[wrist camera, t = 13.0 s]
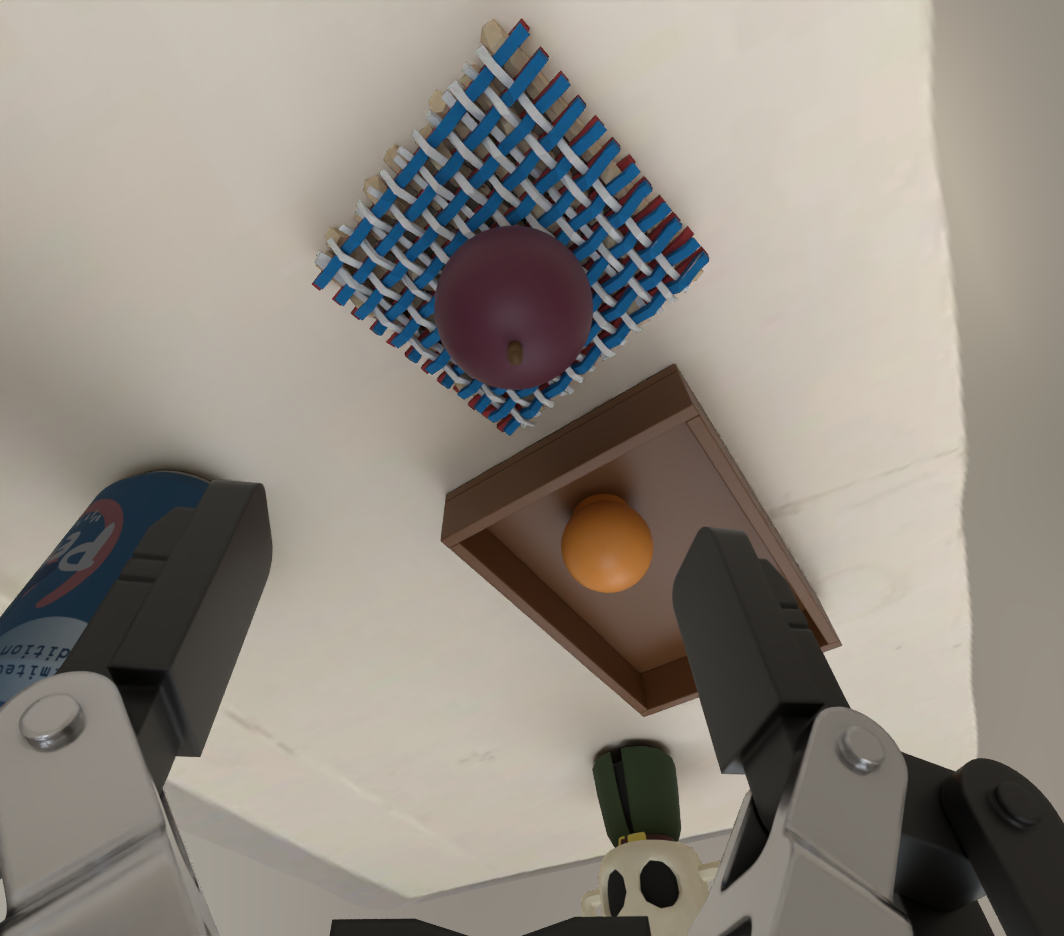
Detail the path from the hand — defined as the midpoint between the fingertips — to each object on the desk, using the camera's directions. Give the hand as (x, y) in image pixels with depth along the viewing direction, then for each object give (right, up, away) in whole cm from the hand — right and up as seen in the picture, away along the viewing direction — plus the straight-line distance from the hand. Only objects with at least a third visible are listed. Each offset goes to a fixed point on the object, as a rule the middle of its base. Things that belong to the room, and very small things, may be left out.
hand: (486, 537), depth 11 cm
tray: (+7, -3, +21) cm, 22 cm away
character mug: (+9, -21, +35) cm, 42 cm away
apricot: (+4, -1, +18) cm, 18 cm away
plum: (0, +8, +9) cm, 12 cm away
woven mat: (0, +9, +11) cm, 14 cm away
